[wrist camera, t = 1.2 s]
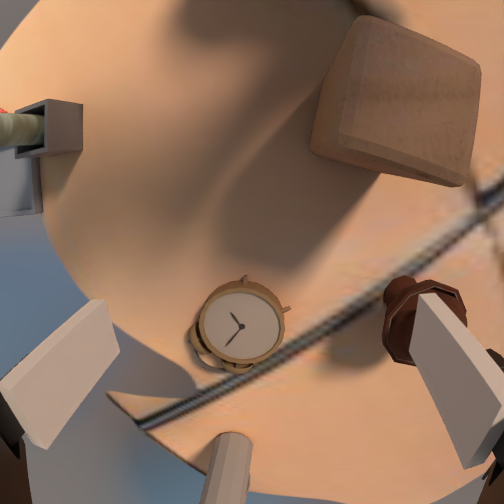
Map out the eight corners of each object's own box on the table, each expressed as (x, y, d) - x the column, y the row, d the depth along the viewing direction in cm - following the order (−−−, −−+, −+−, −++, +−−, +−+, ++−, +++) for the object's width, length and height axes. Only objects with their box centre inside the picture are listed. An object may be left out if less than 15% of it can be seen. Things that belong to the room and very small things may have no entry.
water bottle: (206, 436, 52) (174, 547, 28) (238, 424, 50) (214, 546, 26) (236, 460, 54) (216, 565, 30) (268, 450, 52) (257, 563, 28)
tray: (-9, 147, 40) (-17, 147, 38) (38, 131, 38) (30, 131, 36) (-4, 216, 43) (-12, 218, 42) (43, 211, 42) (35, 214, 40)
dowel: (52, 120, 37) (-23, 117, 22) (71, 114, 36) (-5, 108, 22) (52, 145, 38) (-23, 151, 24) (71, 141, 37) (-6, 144, 23)
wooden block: (383, 174, 36) (469, 193, 17) (306, 153, 36) (331, 147, 17) (398, 100, 33) (487, 62, 14) (322, 76, 33) (357, 6, 14)
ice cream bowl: (361, 330, 42) (388, 401, 28) (370, 255, 39) (410, 307, 25) (426, 326, 41) (469, 388, 27) (439, 255, 38) (498, 300, 24)
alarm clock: (304, 319, 40) (235, 397, 41) (298, 307, 45) (236, 380, 46) (232, 268, 39) (168, 354, 40) (234, 260, 43) (175, 339, 45)
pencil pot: (49, 113, 37) (14, 111, 30) (82, 104, 37) (48, 98, 29) (50, 156, 39) (14, 159, 32) (83, 149, 39) (47, 151, 31)
